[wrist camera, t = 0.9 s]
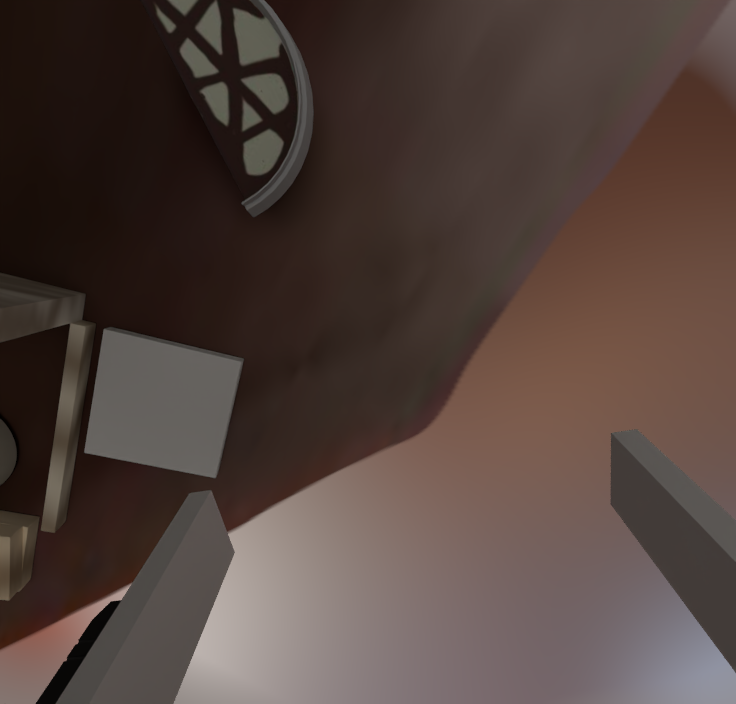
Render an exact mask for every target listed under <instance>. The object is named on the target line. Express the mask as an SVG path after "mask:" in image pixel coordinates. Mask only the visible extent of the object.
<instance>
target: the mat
mask: <svg viewBox="0 0 736 704" xmlns="http://www.w3.org/2000/svg"><path fill="white" fill-rule="evenodd" d="M243 361H244V359H243V358H239V357H235V356H231V355H226V354H222V353H218V352H214V351H210V350H206V349H201V348H197V347H193V346H189V345H185V344H180V343H176V342H172V341H168V340H164V339H159V338H155V337H151V336H147V335H143V334H139V333H134V332H130V331H126V330H122V329H118V328H113V327H108V328H105V329H104V331H103V337H102V344H101V350H100V356H99V362H98V369H97V375H96V381H95V388H94V394H93V400H92V406H91V413H90V419H89V425H88V432H87V438H86V444H85V451H84V453H88V454H94V455H99V456H104V457H109V458H114V459H119V460H125V461H130V462H135V463H140V464H145V465H150V466H155V467H161V468H166V469H171V470H176V471H181V472H186V473H192V474H197V475H202V476H207V477H212V478H216V476H217V474H218V471H219V467H220V462H221V458H222V454H223V449H224V445H225V440H226V436H227V432H228V427H229V423H230V418H231V414H232V410H233V405H234V401H235V397H236V392H237V388H238V383H239V379H240V375H241V370H242V366H243Z"/></svg>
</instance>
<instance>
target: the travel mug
mask: <svg viewBox="0 0 736 704" xmlns="http://www.w3.org/2000/svg"><path fill="white" fill-rule="evenodd" d="M16 459H17V449H16V444H15V440H14V438H13V435H12V433H11V432H10V430H9V428H8V427H7V426H6V424H5V423H4V422H3V421H2V420H1V419H0V485H1V484H3V483H4V482H5V481H6V480H7V479H8V478H9V476H10V475H11V473H12V471H13V469H14V467H15V464H16Z"/></svg>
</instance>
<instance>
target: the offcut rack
mask: <svg viewBox="0 0 736 704" xmlns="http://www.w3.org/2000/svg"><path fill="white" fill-rule="evenodd" d="M85 298H86V294H84V293H80V292H76V291H72V290H68V289H64V288H60V287H56V286H52V285H48V284H44V283H40V282H36V281H32V280H28V279H24V278H20V277H16V276H12V275H8V274H4V273H0V342H4V341H8V340H11V339H15V338H19V337H22V336H26V335H29V334H33V333H37V332H40V331H44V330H48V329H51V328H55V327H59V326H62V325H66V324H70V323H71V324H70V331H69V338H68V345H67V352H66V359H65V366H64V373H63V380H62V387H61V394H60V401H59V408H58V415H57V422H56V429H55V436H54V442H53V449H52V456H51V463H50V470H49V477H48V484H47V491H46V498H45V505H44V512H43V519H42V526H41V531H47V532H53V533H55V532H56V531H57V530H58V529H59V528H60V527H61V526H62V525H63V524H64V522H65V521H66V516H67V510H68V503H69V497H70V490H71V484H72V477H73V471H74V465H75V458H76V452H77V445H78V439H79V432H80V426H81V419H82V413H83V407H84V400H85V394H86V387H87V381H88V374H89V368H90V361H91V355H92V349H93V342H94V336H95V329H96V323H93V322H88V321H84V320H82V318H83V311H84V304H85ZM38 524H39V517H38V516H32V515H26V514H20V513H14V512H8V511H2V510H0V600H10V599H11V598H12V597H13V596H14V594H15V593H16V592H17V591H18V592H19V591H20V590H21V589H22V588H23V587H24V586H25V585H26V584H27V582H28V581H29V580H30V579H31V573H32V566H33V559H34V552H35V545H36V538H37V531H38Z"/></svg>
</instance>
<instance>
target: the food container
mask: <svg viewBox="0 0 736 704" xmlns="http://www.w3.org/2000/svg"><path fill="white" fill-rule="evenodd" d="M140 1H141V3H142V4H143V6H144V8H145V10H146V11H147V13H148V15H149V17H150V19H151V21H152V23H153V25H154V27H155V29H156V31H157V33H158V35H159V37H160V38H161V40H162V42H163V44H164V46H165V48H166V50H167V52H168V54H169V56H170V58H171V59H172V61H173V63H174V65H175V67H176V69H177V71H178V73H179V75H180V77H181V79H182V81H183V83H184V85H185V87H186V89H187V91H188V93H189V95H190V97H191V99H192V100H193V102H194V104H195V106H196V108H197V110H198V112H199V113H200V115H201V117H202V119H203V121H204V123H205V125H206V127H207V129H208V130H209V132H210V134H211V136H212V138H213V140H214V142H215V144H216V146H217V148H218V150H219V152H220V154H221V156H222V157H223V159H224V161H225V163H226V165H227V167H228V169H229V171H230V173H231V175H232V177H233V179H234V180H235V182H236V184H237V186H238V188H239V190H240V192H241V193H242V195H243V197H244V199H245V201H243V202H242V205H244V206H245V208H246V210H247V211H248V212H249V213H250V214H251V215H252V216H253V217H255V216H257V215H259V214H260V213H262V212H263V211H265V210H267V209H268V208H269V207H270V206H272V205H273V204H274V203H275V202H276V201H277V200H278V199H280V198H281V197H282V195H283V194H284V193H285V192H286V191H287V189H288V188H289V187H290V186H291V185H292V183H293V182H294V180H295V178H296V176H297V175H298V173H299V171H300V170H301V168H302V165H303V163H304V160H305V158H306V155H307V152H308V149H309V145H310V140H311V136H312V128H313V114H314V112H313V99H312V90H311V86H310V81H309V77H308V73H307V70H306V67H305V65H304V62H303V59H302V56H301V54H300V52H299V50H298V48H297V46H296V44H295V43H294V41H293V39H292V37H291V35H290V34H289V32H288V31H287V29H286V28H285V26H284V25H283V23H282V22H281V21H280V19H279V18H278V17H277V15H276V14H275V12H274V11H273V10H272V8H271V7H270V6H269V5H268V4H267V3H266V2H265V1H264V0H140Z"/></svg>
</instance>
